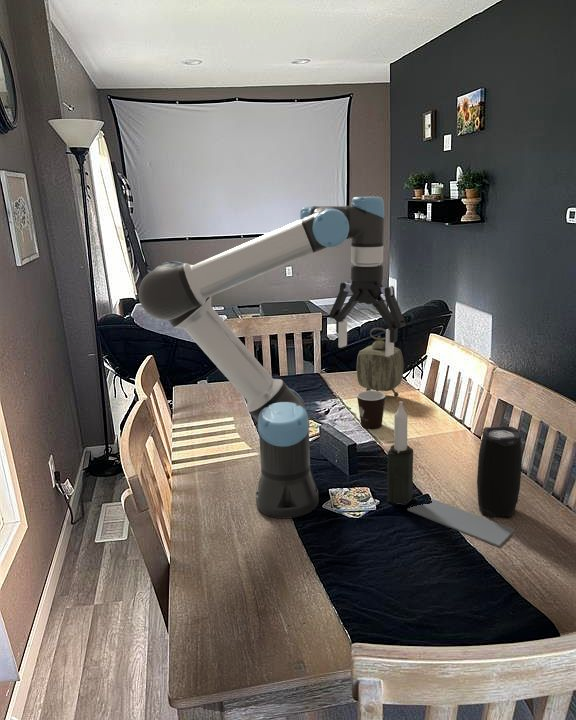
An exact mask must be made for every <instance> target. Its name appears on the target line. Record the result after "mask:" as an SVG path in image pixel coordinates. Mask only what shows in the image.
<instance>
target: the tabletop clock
mask: <svg viewBox="0 0 576 720" xmlns="http://www.w3.org/2000/svg"><path fill="white" fill-rule="evenodd" d="M373 331H383V332H385V333H386V329H385V328H383V327H373V328H372V329H371V330H370V332H369V335H370V337H371V338H372V339H374V340H375V341H374V342H373V343H372V344H371V345H367V346H366V347H365V348H363V349H361V350H359V351H358V354H357V359H356V377H357V381H358V382H357V383H358V385H359V386H361V388H365V391H379V392H381V391H382V392H390V391H392V393H393V396H394V397H398V396H399V392H396V391H395V388H396V387H398V386H399V385H400V384H401V383H402V381H403V377H404V357H403V353H402V350H401V349H399V347H396V346H394V354H393V355H391V356H388V357H387V356H385V346H386V337H381V335H377V337H375V336H373V335H372V332H373ZM384 340H385V341H384Z"/></svg>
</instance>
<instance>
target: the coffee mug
mask: <svg viewBox="0 0 576 720" xmlns="http://www.w3.org/2000/svg"><path fill="white" fill-rule="evenodd" d="M356 398H357V405H358V412H359V420H360V425H361V426H362V427H363V429H365V428H366V429H365V430H369V429H370V430H373V431H374V430H378V429H381V428H382V424H383V419H384V408H385V404H386V403H385V401H386V394H385V393H384V392H383V391H382V392H381V391H376V390H371V391H366V390H364V391H363V390H362V391H360V392H358V393H357V394H356ZM362 427H361V428H362Z"/></svg>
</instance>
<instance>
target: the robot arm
mask: <svg viewBox="0 0 576 720" xmlns="http://www.w3.org/2000/svg"><path fill="white" fill-rule="evenodd" d="M385 217H386V216H385V200H384V199H383V198H382V197H381V196H354V197H353V198H352V199H351V203H350V205H344V206H343V205H342V206H341V205H340V206H338V205H337V206H336V205H335V206H333V205H331V206H330V205H329V206H328V205H327V206H321V205H320V206H317V205H314V206H313V205H312V206H303V207H302V208H301V209H300V213H299V220H296V221H294V222H292V223H289V224H287V225H285V226H283V227H281V228H278V229H275V230H273V231H270V232H268V233H265V234H263V235H261V236H259V237H256V238H254V239H252V240H248V241H247V242H244V243H242V244H240V245H237V246H235V247H233V248H230V249H228V250H225V251H223V252H221V253H219V254H216V255H213V256H211V257H208V258H207V259H204V260H202V261H199V262H197V263H195V264H190V263H187V262H184V263H183V262H180V261H168V262H167V261H166V262H164V263H160V264H159V265H158V266H156V267H155V268H154V269H153V270H151V271H150V272H148V273H147V274H146V275H145V276H144V277H143V279H142V280H141V282H140V285H139V287H138V300H139V303H140V306H141V307H142V309H143V310H144V312H146V313H147V314H148V315H149V316H151V317H152V318H155V319H158V320H161V321H162V320H163V321H168V322H169V324H170V325H172V326H173V328H174V329H180V330H181V329H182V330H184V331H185V332H186V333H187V334H188V335H189V336H190V338H191V339H192V340H193V341H194V342H195V343H196V345H197V346H198V347H199V348H200V349H201V351H203V353H204V354H205V355H206V356H207V357H208V358H209V360H210V361H211V362H212V363H213V364H214V365H215V366H216V367H217V369H218V370H219V371H220V372H221V373H222V374H223V375H224V377H226V379H227V380H228V381H229V382H230V383H231V384H232V386H234V388H235V389H236V390H237V391H238V393H239V394H240V395H241V396H242V397H243V398H244V399H245V400H246V402H247V403H246V410H247V412H248V413H249V414H250V415H251V416H252V418H253V419H254V420H255V421H256V422H257V431H258V439H259V440H258V441H259V442H258V443H259V454H260V456H259V457H260V471H261V472H260V477H259V481H258V487H257V489H256V492H255V506H256V508H257V510H258V511H259V512H261V513H263V514H264V515H266V516H267V517H268V516H269V517H272V518H278V519H293V518H297V517H298V518H299V517H302V516H304V515H307V514H309V513H311V512H312V510H313V511H314V510H315V509H316V508H317V507H318V505H319V502H320V499H319V498H320V497H319V496H320V495H319V489H318V487H317V485H316V482H315V479H314V477H313V474H312V471H311V458H310V457H311V452H310V418H309V415H308V412H307V408H306V404H305V402H304V400H303V398H302V397H301V396H300V394H298V392H297V391H295V390H294V389H292V388H290V387H289V386H288V385H287V384H286V383H285V382H284V381H283V380H282V379H279V378H273V377H272V376H271V375H270V374H269V372H268V371H267V370H266V369H265V368H264V367H263V365H262V364H261V363H260V362H259V361H258V359H257V358H256V357H255V356H254V354H252V353H251V351H250V350H249V348H247V346H246V345H245V344H244V343H243V342H242V341H241V339H240V338H239V337H238V336H237V335H236V334H235V332H233V330H232V329H231V328H230V326H228V324H227V323H226V322H225V321H224V320H223V318H222V317H221V316H220V315H219V314H218V312H217V311H216V310H215V309H214V308H213V307H212V297H213V296H214V295H217V294H219V293H221V292H225V291H226V290H229V289H231V288H233V287H236V286H238V285H241V284H243V283H246V282H248V281H249V280H252V279H255V278H257V277H260V276H261V275H264V274H267V273H269V272H271V271H274V270H276V269H279V268H281V267H283V266H286V265H288V264H290V263H293V262H295V261H298V260H299V259H302V258H304V257H307V256H309V255H311V254H314V253H316V252H320V251H322V250H324V249H327V248H335V247H337V246H341V244H343V243H344V242H345V241H346V240H350V241H351V242H350V243H351V245H350V250H351V251H350V262H351V264H352V265H351V266H350V280H351V283H350V281H345V282H341V283H340V285H339V292H338V294H337V296H336V299H335V301H334V303H333V306H332V308H331V310H330V312H329V314H328V316H329V318H330V319H333V320H334V321H335V332H336V334H338V337H337V338H338V343H337V345H338V347H337V348H340V349H341V348H344V347H346V346H348V320H346V317H347V316H348V315H349V314H350V313H351V311H352V310H353V309H354V307H356V305H357V304H366V305H372V306H373V307H375V309H376V310H377V312H378V314H379V315H380V317H381V318H382V319H383V322H385V325H386V326H387V327H388V328H387V329H385V330H386V332H385V338H386V339H385V343H386V346H385V356H387V357H388V356H391V355H393V354H394V347H395V343H397V341H398V332H399V331H398V330H399V329H401V328H403V327H405V326H406V321H405V318H404V316H403V313H402V311H401V308H400V306H399V303H398V301H397V298H396V295H395V287H394V286H393V285H390V286H388V287H387V286H384V287H383V284H382V283H383V277H384V266H383V264H382V263H383V262H384V240H385V239H384V238H385ZM350 291H351V293H352V295H351V296H350V297H349V299H348V301H347V302H346V299H347V298H348V295H349V292H350ZM382 295H383V296H384V298H383V297H382ZM384 299H385V300H384ZM385 301H386V302H385ZM345 302H346V304H345ZM386 304H387V305H386Z"/></svg>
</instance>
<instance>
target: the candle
mask: <svg viewBox="0 0 576 720" xmlns="http://www.w3.org/2000/svg"><path fill="white" fill-rule="evenodd" d="M398 404H399V405H398V408H397V411H396V412H395V414H394V417H393V418H394V421H393V422H394V424H393V425H394V426H393V427H394V429H393V431H394V434H393V439H394V440H393V442H394V444H392V445H391V446H390V449H389V450H387V502H388V503H389V502H391V503H390V504H394V503H405V502H408V501H409V500H410V499H411V498H412V499H413V486H414V485H413V484H414V483H413V482H414V481H413V480H414V448H412V447H411V446H409V445H408V414H407V412H406V411H405V408H404V402H403V401H402V400H401V401H399V402H398ZM392 502H394V503H392Z"/></svg>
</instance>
